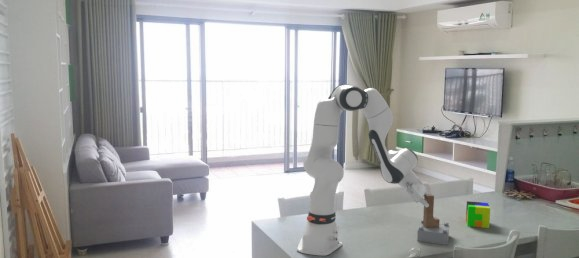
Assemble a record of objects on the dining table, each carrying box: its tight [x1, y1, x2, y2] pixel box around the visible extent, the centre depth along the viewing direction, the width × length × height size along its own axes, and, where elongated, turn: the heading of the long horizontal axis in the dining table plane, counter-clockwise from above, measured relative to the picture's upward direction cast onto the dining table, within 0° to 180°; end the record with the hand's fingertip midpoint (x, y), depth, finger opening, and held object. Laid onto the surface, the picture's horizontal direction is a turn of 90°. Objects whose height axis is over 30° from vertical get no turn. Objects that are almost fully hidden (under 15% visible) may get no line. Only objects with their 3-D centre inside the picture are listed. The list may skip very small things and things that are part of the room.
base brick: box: [416, 219, 450, 246], centre depth 220 cm, size 13×13×6 cm
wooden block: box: [422, 193, 440, 228], centre depth 221 cm, size 7×3×15 cm, turn 101°
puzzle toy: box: [465, 200, 491, 229], centre depth 241 cm, size 10×10×10 cm
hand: (429, 203), depth 220 cm, fingers open, 8 cm apart
